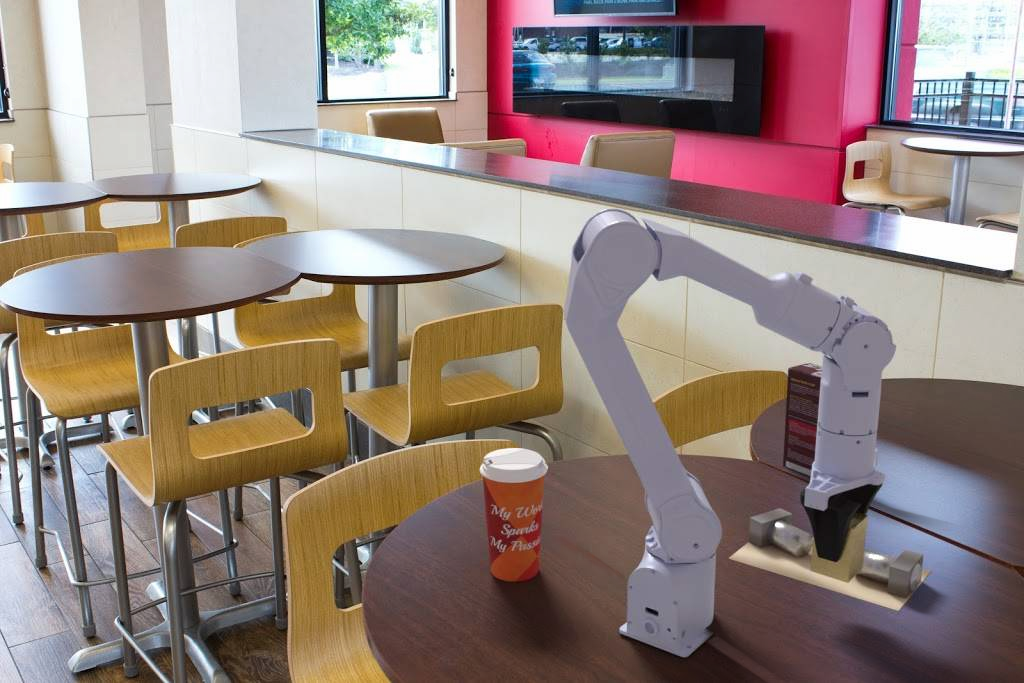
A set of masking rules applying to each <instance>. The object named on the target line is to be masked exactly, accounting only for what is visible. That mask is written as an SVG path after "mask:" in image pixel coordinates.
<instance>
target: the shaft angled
mask: <svg viewBox="0 0 1024 683" xmlns="http://www.w3.org/2000/svg"><path fill="white" fill-rule="evenodd" d="M768 540H769V542H770V543H772V544H774V545H776V546H778V547H780V548H782V549H784V550H786V551H787V552H789V553H791V554H793V555H795V556H797V557H799V558H802V557H805V556H806V555H807V554H808V553H809V552H810V551H811V549H812V546H813V536H812V534H811V533H809V532H807V531H804V530H802V529H801V528H798V527H796V526H794V525H790V524H788V523H786V522H784V521H782V520H777V521H775V522H773V523H772V525H771V526H770V528H769V530H768Z"/></svg>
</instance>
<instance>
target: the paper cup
mask: <svg viewBox="0 0 1024 683" xmlns="http://www.w3.org/2000/svg"><path fill="white" fill-rule="evenodd" d="M548 469H549V466H548V464H547V463H546V460H545V459H544V458H543V457H542V454H540V453H538V452H537V451H534V450H531V449H527V448H517V447H509V448H500V449H496V450H494V451H493V450H492V451H490V452H488V453H487V454H486V455H484V457H483V460H482V464H481V465H480V467H479V472H480V475H481V476H482V481H483V494H484V509H485V510H484V511H485V522H486V532H487V533H486V534H487V543H488V554H489V564H490V572H491V575H492V576H493V577H494V578H496V579H498V580H500V581H503V582H510V583H518V582H525V581H528V580H531V579H533V578H535V577H536V576H537V575H538V572H539V569H540V568H539V567H540V559H541V558H540V555H541V544H542V542H541V539H542V524H543V505H544V490H545V488H544V485H545V475H546V474H547V472H548Z"/></svg>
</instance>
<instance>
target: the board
mask: <svg viewBox="0 0 1024 683" xmlns="http://www.w3.org/2000/svg"><path fill="white" fill-rule="evenodd" d="M777 520H782V521H784V522H786V523H788V524H790V525H792V524H793V523H792V522H793V513H791V512H789V511H787V510H785V509H784V508H783V509H782V508H781V507H779V508H776V509H773V510H769V511H767V512H764V513H761V514H758V515H757V514H756V515H753V516H750V517H749V529H748V542H746V544H744V545H743V546H742V547H740V548H739V549H738V550H737V551H735V552H734V553H733V554H731V555H730V556H729V557H728V558H727V559H728V560H731V561H735V562H738V563H741V564H744V565H747V566H750V567H752V568H753V567H754V568H757V569H761V570H763V571H767V572H770V573H772V574H776V575H780V576H782V577H785V578H786V577H787V578H790V579H793V580H795V581H800V582H803V583H806V584H809V585H813V586H815V587H819V588H822V589H825V590H828V591H832V592H835V593H837V594H841V595H844V596H847V597H851V598H854V599H857V600H861V601H863V602H868V603H870V604H874V605H876V606H881V607H883V608H887V609H890V610H894V611H896V612H899V611H900V610H901V609H902V607H904V605H905V604H906V603H907V602H908V600H909V599H910V598H911V596H913V594H914V593H916V590H915V591H911V589H910V581H911V576H912V572H913V569H914V567H915V565H916V564H920V565H921V576H920V581H919V584H918V586H917V589H918V588H919V587H920V586H921V585H922V583H923V582H924V581H925V579H926V578H927V577H928V576H929V575H930V574H931V572H932V570H929V569H925V568H924V567H923V562H924V554H923V553H920V552H917V551H913V550H909V549H904V550H903V551H902V552H901V553H900V554H899V556H898V557H896V558H897V559H896V560H895V561H894V562H893V563H892V564H891V566H890V569H889V580H888V584H887V583H884V582H880V581H877V580H874V579H870V578H867V577H863V576H860V575H857V574H856V575H855V576H854V577H853V579H852V580H851V581H850V582H849V583H846V582H843V581H840V580H837V579H834V578H831V577H827V576H824V575H821V574H818V573H815V572H812V571H810V568H811V557H812V549H811V551H810V552H809V553H808V554H807V555H806V556H805V557H802V558H799V557H797V556H795V555H793V554H791V553H789V552H787V551H786V550H784V549H782V548H780V547H778V546H776V545H774V544H772V543H770V542H769V540H768V530H769V528H770V526H771V525H772V523H773V522H775V521H777ZM792 526H793V525H792Z"/></svg>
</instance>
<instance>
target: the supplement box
mask: <svg viewBox="0 0 1024 683" xmlns="http://www.w3.org/2000/svg"><path fill="white" fill-rule="evenodd" d="M821 378H822V366H821V365H819V364H814V363H811V362H809V363H803V364H799V365H794V366H791V367H788V368H787V382H786V384H787V385H786V401H785V403H786V404H785V420H784V421H785V424H784V437H783V458H782V467H784V468H786V469H788V470H792V471H794V472H796V473H799V474H801V475H803V476H807V477H809V478H811V471H812V464H813V462H814V461H815V449H816V436H817V423H818V410H819V397H820V383H821Z"/></svg>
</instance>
